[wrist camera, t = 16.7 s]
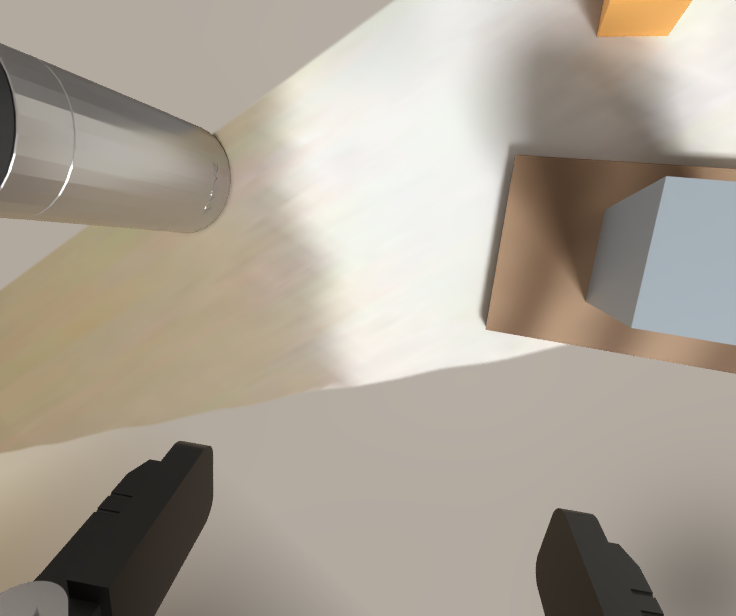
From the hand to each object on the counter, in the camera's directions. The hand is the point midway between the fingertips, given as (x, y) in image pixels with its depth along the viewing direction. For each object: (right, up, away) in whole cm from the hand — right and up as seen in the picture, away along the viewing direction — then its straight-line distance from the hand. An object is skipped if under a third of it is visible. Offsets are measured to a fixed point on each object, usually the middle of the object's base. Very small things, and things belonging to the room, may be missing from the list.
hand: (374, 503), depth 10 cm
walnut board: (+18, +8, +19) cm, 27 cm away
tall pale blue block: (+17, +7, +18) cm, 26 cm away
